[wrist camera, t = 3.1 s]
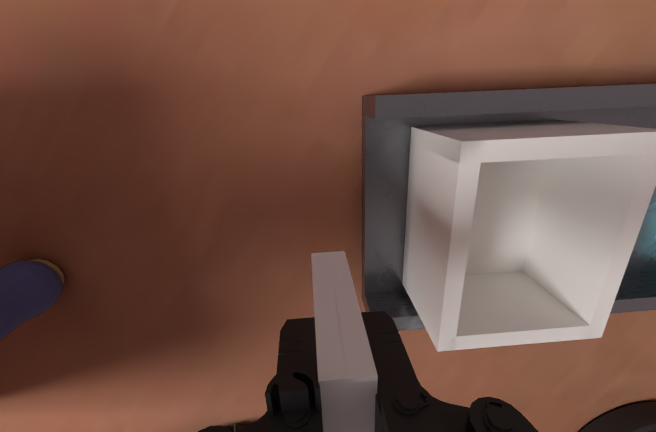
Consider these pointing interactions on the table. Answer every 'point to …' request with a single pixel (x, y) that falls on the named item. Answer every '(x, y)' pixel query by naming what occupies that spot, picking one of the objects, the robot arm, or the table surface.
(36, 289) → the rubber mallet
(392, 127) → the bay
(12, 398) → the table surface
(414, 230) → the crate
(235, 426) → the pulley block
